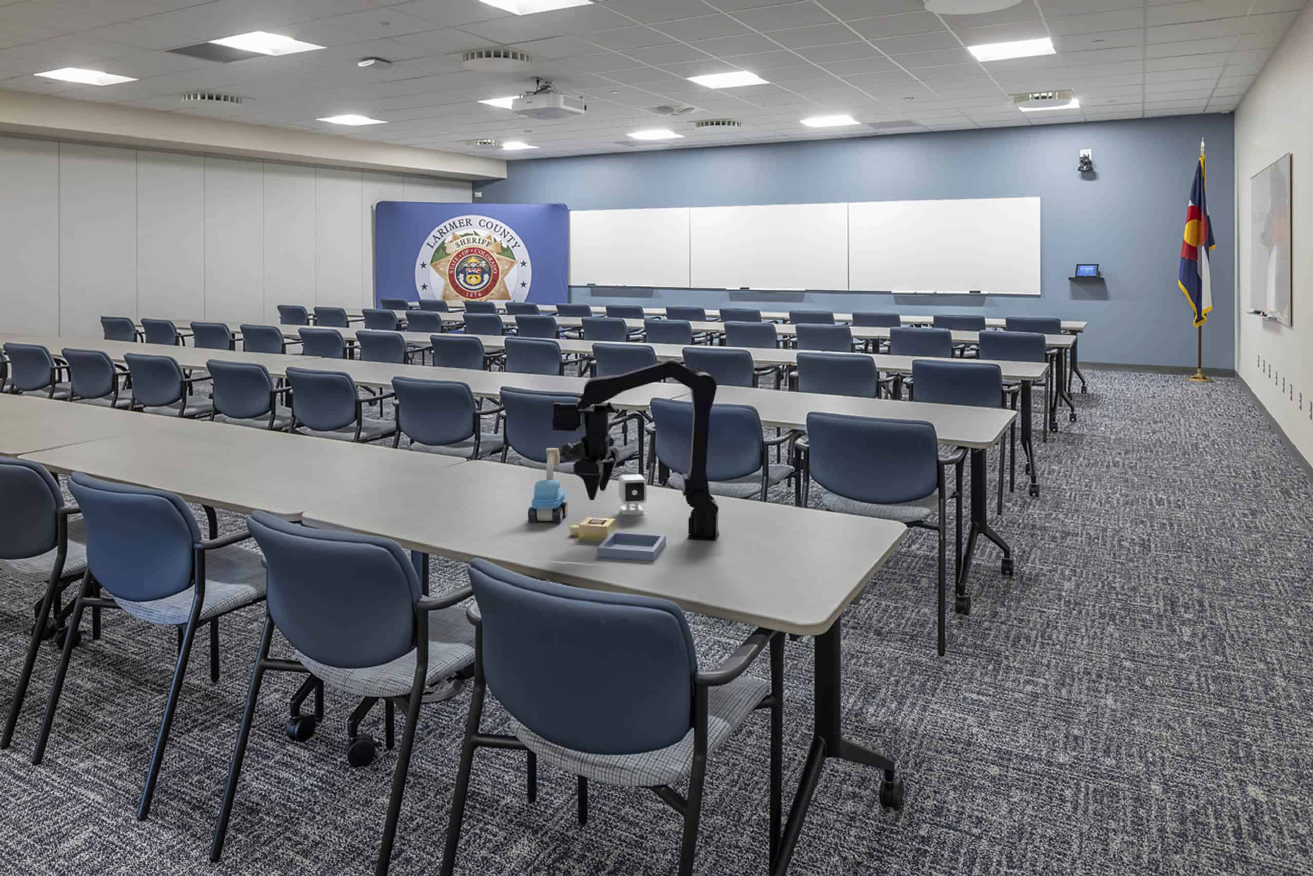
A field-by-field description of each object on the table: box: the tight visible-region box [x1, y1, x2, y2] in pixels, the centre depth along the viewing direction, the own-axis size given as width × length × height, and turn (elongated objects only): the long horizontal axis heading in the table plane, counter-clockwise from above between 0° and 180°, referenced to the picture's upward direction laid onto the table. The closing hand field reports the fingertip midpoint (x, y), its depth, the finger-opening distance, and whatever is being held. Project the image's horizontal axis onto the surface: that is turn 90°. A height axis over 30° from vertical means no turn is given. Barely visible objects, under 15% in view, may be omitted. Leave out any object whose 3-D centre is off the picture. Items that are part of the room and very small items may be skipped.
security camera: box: [618, 473, 648, 516], centre depth 245 cm, size 6×7×10 cm
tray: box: [596, 531, 667, 562], centre depth 213 cm, size 13×13×2 cm
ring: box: [569, 516, 616, 541], centre depth 224 cm, size 10×7×4 cm
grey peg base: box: [573, 519, 605, 543], centre depth 224 cm, size 9×9×4 cm
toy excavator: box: [527, 447, 568, 524], centre depth 241 cm, size 9×17×17 cm, turn 174°
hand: (597, 495), depth 222 cm, fingers open, 9 cm apart
